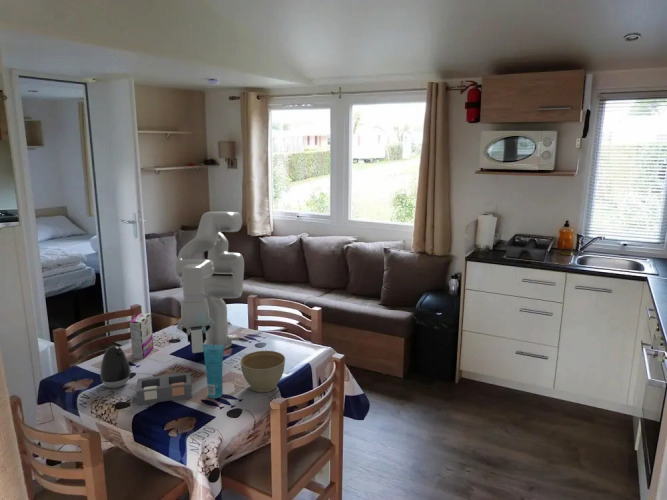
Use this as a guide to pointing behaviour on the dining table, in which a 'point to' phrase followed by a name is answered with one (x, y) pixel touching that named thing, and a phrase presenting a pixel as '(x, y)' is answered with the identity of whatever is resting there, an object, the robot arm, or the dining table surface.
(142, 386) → the socket box
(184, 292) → the robot arm
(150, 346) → the candy bar box
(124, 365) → the dark grey egg
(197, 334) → the plug
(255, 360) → the planter bowl
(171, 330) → the dining table surface
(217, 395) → the tube
